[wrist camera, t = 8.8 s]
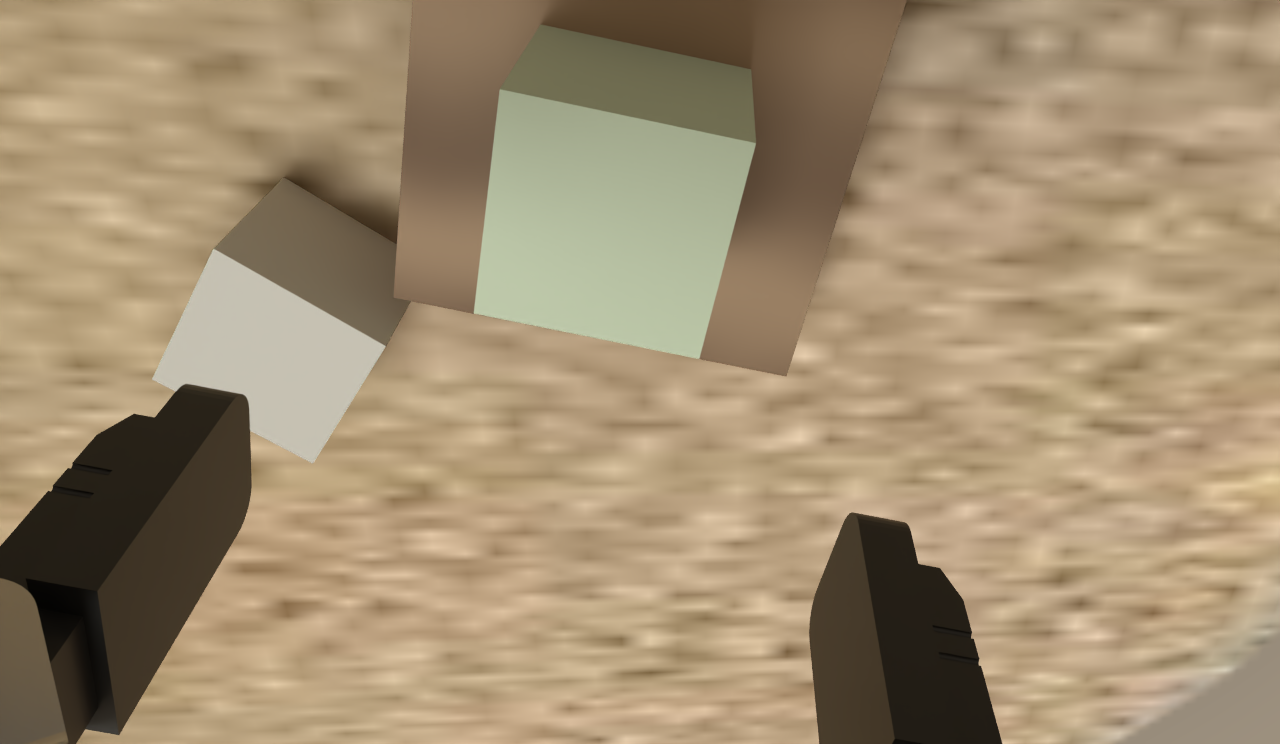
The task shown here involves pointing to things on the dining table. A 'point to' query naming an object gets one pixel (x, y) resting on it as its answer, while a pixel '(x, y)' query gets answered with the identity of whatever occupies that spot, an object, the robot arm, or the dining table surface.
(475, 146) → the walnut block
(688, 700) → the dining table surface
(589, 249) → the sage cube
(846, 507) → the dining table surface
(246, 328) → the grey cube
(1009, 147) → the dining table surface
